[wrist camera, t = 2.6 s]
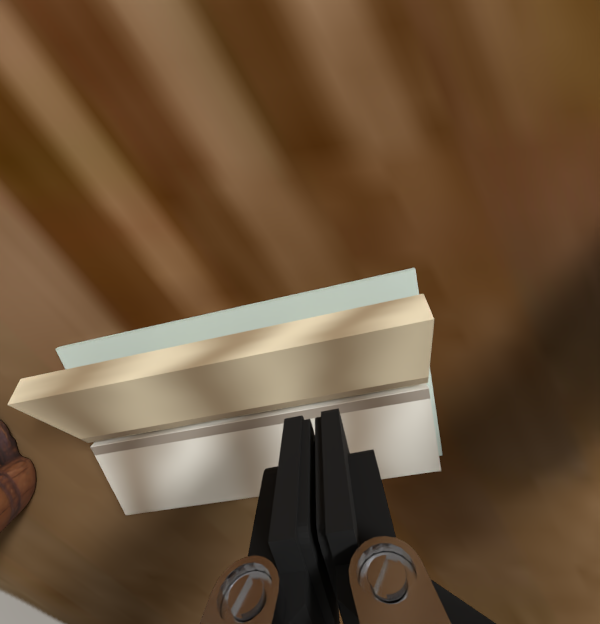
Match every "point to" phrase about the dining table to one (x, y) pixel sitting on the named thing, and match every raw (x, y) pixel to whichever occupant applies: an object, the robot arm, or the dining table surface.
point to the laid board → (262, 450)
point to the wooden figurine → (13, 478)
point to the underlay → (249, 321)
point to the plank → (238, 373)
